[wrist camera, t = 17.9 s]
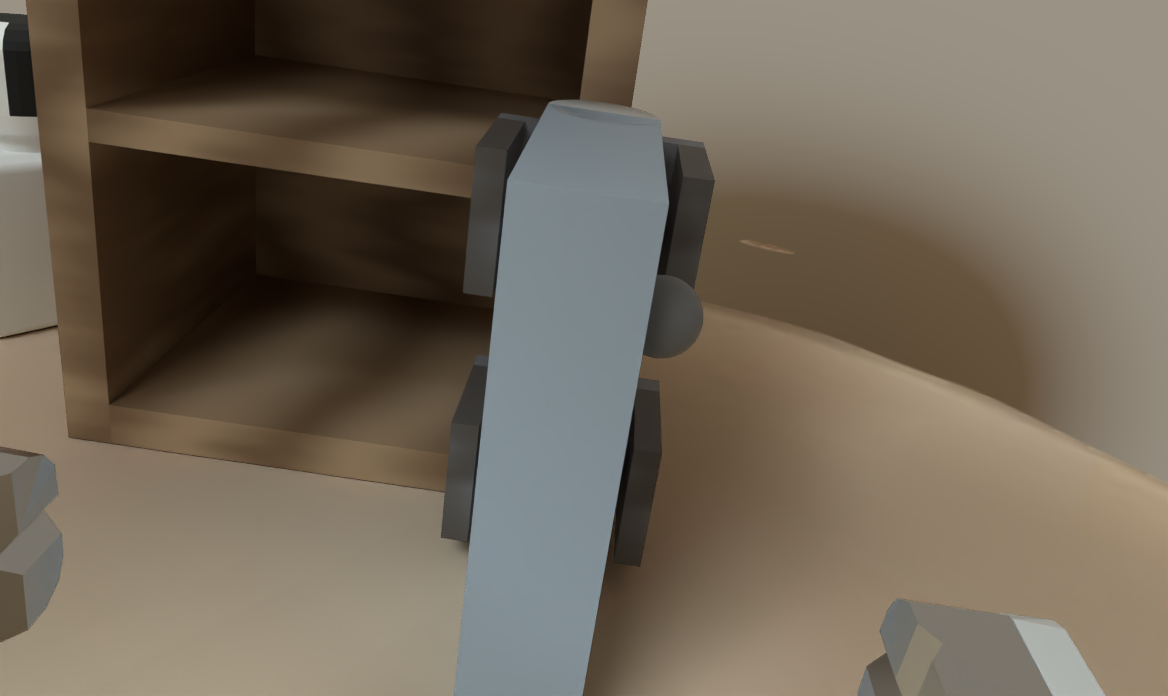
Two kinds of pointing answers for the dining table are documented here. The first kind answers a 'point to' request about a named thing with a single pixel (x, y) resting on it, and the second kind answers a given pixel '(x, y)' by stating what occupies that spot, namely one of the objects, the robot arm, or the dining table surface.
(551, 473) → the door
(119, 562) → the dining table surface
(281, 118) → the cabinet
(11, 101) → the medicine bottle
